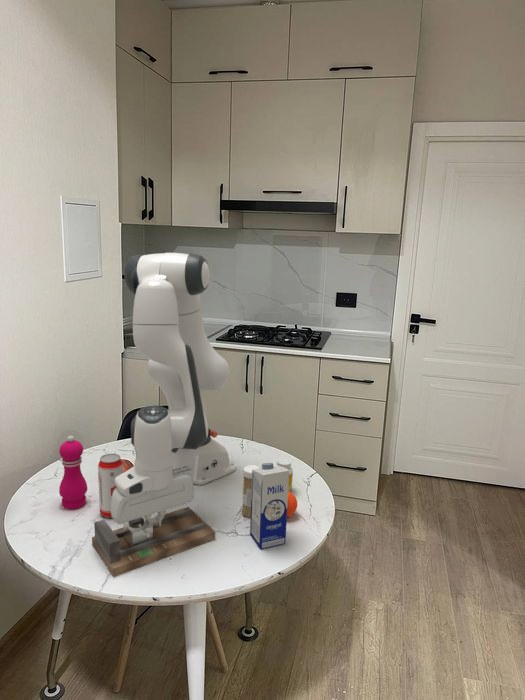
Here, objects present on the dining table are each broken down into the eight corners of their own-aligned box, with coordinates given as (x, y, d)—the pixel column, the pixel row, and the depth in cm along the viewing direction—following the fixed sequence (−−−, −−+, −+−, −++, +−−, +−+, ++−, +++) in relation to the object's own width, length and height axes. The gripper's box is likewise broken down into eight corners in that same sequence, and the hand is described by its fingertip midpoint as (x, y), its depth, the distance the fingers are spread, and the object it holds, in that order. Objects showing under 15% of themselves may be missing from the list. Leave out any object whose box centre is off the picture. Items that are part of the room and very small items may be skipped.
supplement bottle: (275, 496, 152) (276, 466, 150) (271, 487, 158) (273, 457, 155) (293, 495, 153) (295, 465, 151) (289, 486, 159) (290, 457, 156)
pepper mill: (79, 512, 140) (75, 442, 136) (54, 508, 142) (50, 439, 137) (93, 499, 147) (90, 432, 143) (69, 495, 149) (65, 429, 144)
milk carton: (259, 549, 127) (262, 474, 123) (249, 534, 133) (251, 462, 129) (286, 543, 130) (290, 469, 125) (274, 529, 136) (278, 457, 131)
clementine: (299, 524, 139) (300, 500, 137) (272, 525, 138) (273, 500, 136) (294, 508, 146) (296, 485, 145) (270, 508, 146) (271, 485, 144)
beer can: (128, 509, 143) (127, 455, 139) (115, 521, 137) (113, 465, 133) (109, 505, 145) (107, 451, 141) (94, 516, 139) (92, 460, 135)
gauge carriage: (143, 529, 130) (142, 513, 129) (158, 548, 123) (158, 532, 122) (123, 536, 127) (122, 520, 126) (138, 556, 120) (138, 538, 119)
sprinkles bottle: (242, 508, 145) (243, 464, 142) (258, 509, 145) (260, 464, 142) (241, 518, 141) (242, 471, 138) (258, 518, 141) (260, 472, 138)
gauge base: (188, 513, 142) (188, 489, 140) (215, 539, 131) (215, 513, 129) (92, 544, 127) (91, 518, 125) (113, 576, 116) (112, 548, 114)
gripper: (186, 459, 133) (186, 509, 136) (107, 480, 121) (109, 533, 124) (199, 469, 128) (198, 520, 131) (117, 491, 116) (119, 547, 120)
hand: (154, 527), depth 128 cm, fingers closed
